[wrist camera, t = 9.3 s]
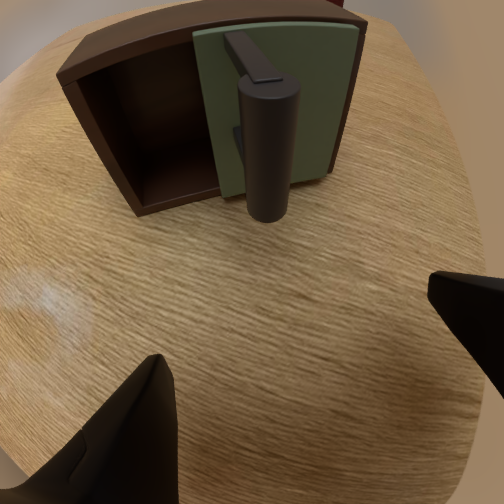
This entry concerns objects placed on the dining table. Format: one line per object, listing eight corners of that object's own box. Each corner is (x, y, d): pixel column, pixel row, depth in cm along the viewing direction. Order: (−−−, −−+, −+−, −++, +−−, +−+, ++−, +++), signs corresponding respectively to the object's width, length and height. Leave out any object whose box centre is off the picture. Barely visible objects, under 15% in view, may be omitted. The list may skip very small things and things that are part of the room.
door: (359, 245, 15) (443, 93, 6) (242, 276, 15) (213, 101, 5) (322, 170, 18) (353, 24, 8) (220, 191, 17) (191, 31, 8)
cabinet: (332, 173, 19) (368, 21, 8) (137, 217, 18) (54, 74, 7) (302, 122, 21) (315, -5, 11) (137, 158, 20) (85, 35, 10)
